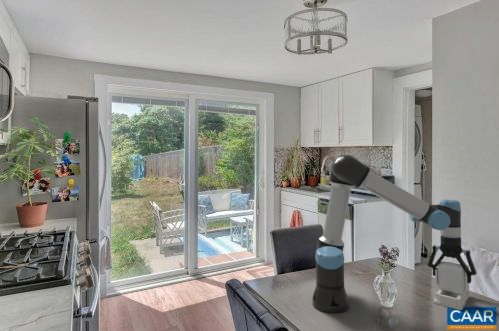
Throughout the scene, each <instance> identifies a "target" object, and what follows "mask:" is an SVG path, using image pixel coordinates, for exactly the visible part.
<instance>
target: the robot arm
mask: <svg viewBox="0 0 499 331" xmlns="http://www.w3.org/2000/svg"><path fill="white" fill-rule="evenodd" d="M330 170H331V171H330V175H329V181H328V182H329V184H330V185H331V189H330V193H329V194H330V195H329V200H328V205H327V211H326V216H325V223H324V228H323V233H322V235H321V236H320V237H319V238H318V243H317V247H316V249H315V256H314V258H315V280H316V282H315V283H316V284H315V289H314V292H313V295H312V305H313V307H314V308H315V309H316V310H319V311H321V312H325V313H328V314H329V313H330V314H340V313H343V312H346V311H348V309H350V300H349V297H348V295H347V291H346V289H345V255H344V247H345V242H344V241H343V234H344V233H343V232H344V229H345V222H346V217H347V212H348V206H349V203H350V202H349V201H350V195H351V190H352V189H353V188H355V187H356V188H358V189H365V190H366V191H367V192H369V193H372V194H373V195H375V196H376V197H378V198H380V199H382V200H383V201H385V202H386V203H388V204H390V205H392V206H393V207H396V208H397V209H399V210H401V211H403V212H405V213H406V214H408V215H409V218H410V220H411V221H412V222H417V223H424V224H425V225H427V226H428V227H430V228H431V229H433V230H436V231H439V232H440V245H436V244H434V245H433V246H432V248H431V249H432V251H431V255H430V256H429V257H430V258H429V260H428V263H427V267H430V268H432V276H433V277H435V279H434V280H435V284H434V285H438V264H439V263H440V262H442V261H443V260H444V258H445V257H446V258H452V259H456V261H458V262H457V263H460V265H461V266H462V268H463V269H464V271H465V272H466V274H465V291H468V283H469V284H471V283H472V276H476V275H477V270H476V266H475V264H474V261H473V259H472V256H471V253H472V252H471V250H470V249H467V250H466V249H463V247H462V225H461V224H462V222H461V221H462V220H461V219H462V218H461V217H462V209H461V208H462V207H461V203H460V201H458V200H457V199H456V200H455V199H441V200H439V204H429V202H426V201H424V200H422V199H421V198H420V197H418V196H415V195H414V194H412V193H411V192H408V191H407V190H405V189H403V188H401V187H400V186H398V185H396V184H394V183H393V182H392V181H389V180H387V179H385V178H383V177H382V176H380V175H378V174H376V172H375V173H374V172H373V171H372V168H371V167H369V166H368V165H366V164H364V163H363V162H361V161H360V160H359V159H357V158H356V157H355V156H353V155H351V154H350V155H349V154H342V155H339V156H337V157H335V158H334V159H333V160H332V162H331V165H330ZM439 250H440V251H441V255H440V256H439V257H438V259H437V261H436V262H435V263H434V261H435V257H436V255H437V252H438V251H439ZM462 253H463V254H464V256H465V259H466V261H467V263H468V264H467V265H469V268H468V267H467V265H466V262H465V261H464V259H463V258H462V255H461V254H462Z"/></svg>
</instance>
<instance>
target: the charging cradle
mask: <svg viewBox="0 0 499 331" xmlns="http://www.w3.org/2000/svg"><path fill="white" fill-rule="evenodd" d="M441 262H452V263H456V264H459V265H460V263H459V262H456V261H449V260H448V261H447V260H444V259H442V261H441ZM465 264H466V263H465ZM466 265H467V267H468V268H469V269H470V267H469V264H466ZM465 274H466V272H465ZM469 298H470V283H468V291H466V294H465V295H461V294H457V293H453V292H449V291H446V290H442V289H439V288H438V291H437V292H436V293H435V298H434V300H433V304H436V305H439V306H442V307H443V306H444V307H447V308H451V309H454V310H458V311H461V310H462V311H463V308H465V305H466V303H467V302H466V301H468V299H469Z"/></svg>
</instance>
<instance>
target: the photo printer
mask: <svg viewBox="0 0 499 331" xmlns="http://www.w3.org/2000/svg"><path fill="white" fill-rule="evenodd" d="M452 262H453V261H450V262H442V261H441V262H440V263H439V264H438V266H437V268H438V284H437V285H438V286H437V287H438V290H439V289H442V290H446V291H449V292H453V293H457V294H461V295H465V294H466V291H465V271H464V269H463V268H462V266H461V265H459V264H456V263H457V262H456V263H452Z"/></svg>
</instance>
